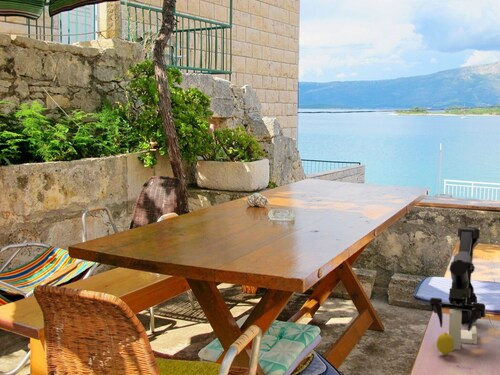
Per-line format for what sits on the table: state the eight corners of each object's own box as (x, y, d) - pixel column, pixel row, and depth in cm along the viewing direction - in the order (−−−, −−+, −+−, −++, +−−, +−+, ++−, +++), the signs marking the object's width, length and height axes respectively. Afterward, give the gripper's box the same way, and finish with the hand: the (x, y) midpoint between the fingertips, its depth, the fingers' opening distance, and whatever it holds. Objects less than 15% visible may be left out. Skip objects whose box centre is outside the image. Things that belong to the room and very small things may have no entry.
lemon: (433, 353, 206) (433, 331, 205) (446, 350, 208) (446, 328, 207) (443, 359, 201) (444, 336, 200) (456, 356, 203) (457, 334, 202)
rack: (450, 332, 225) (451, 323, 225) (476, 335, 222) (476, 326, 222) (450, 341, 217) (450, 331, 216) (476, 344, 214) (477, 334, 213)
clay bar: (448, 344, 214) (449, 309, 213) (460, 345, 213) (461, 310, 211) (448, 348, 210) (449, 312, 209) (460, 349, 209) (461, 313, 207)
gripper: (430, 275, 216) (425, 314, 208) (486, 281, 208) (482, 322, 200) (433, 290, 225) (428, 328, 216) (487, 297, 217) (483, 336, 208)
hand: (454, 328), depth 210 cm, fingers open, 9 cm apart
